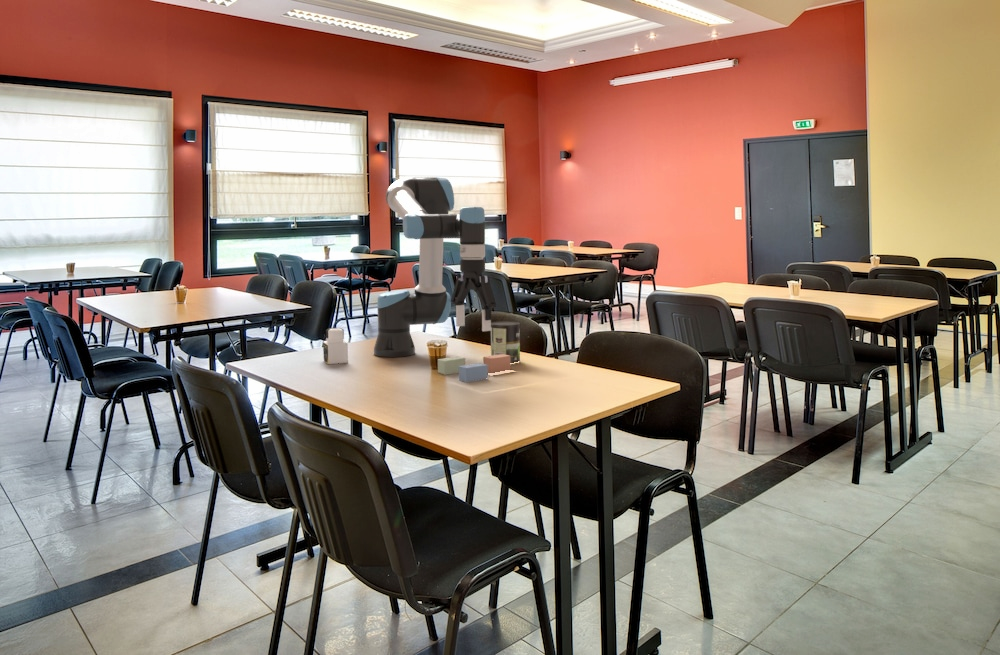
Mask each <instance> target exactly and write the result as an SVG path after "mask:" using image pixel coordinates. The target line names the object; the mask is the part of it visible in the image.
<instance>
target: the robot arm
mask: <svg viewBox="0 0 1000 655" xmlns="http://www.w3.org/2000/svg"><path fill="white" fill-rule="evenodd" d="M385 200H386V203H387V205H388V207H389V208H390V209H391V210H392V211H393V212H395V213H397V214H398V215H399V217H400V218H401V219H402V230H403V235H404V237H405V238H406V239H411V240H412V239H414V240H419V260H418V261H419V263H418V264H419V267H418V268H419V270H418V272H419V273H418V284H417V285H416V286H415V287H414V293H410V291H409V290H408V289H400V290H399V289H397V290H396V289H395V290H391V291H390V290H389V291H386V292H382V293H380V294H379V295H378V297H377V306H376V308H377V331H378V332H377V337H376V340H375V344H374V346H373V355H374V356H376V357H384V358H398V357H399V358H400V357H401V358H403V357H409V356H412V355H414V354H416V346H415V343H414V341H413V338H412V335H411V328H410V327H411V326H413V325H415V326H416V325H436V324H443V323H445V322H446V321H448V319H449V317H450V315H451V307H452V306H451V305H452V303H453V304H454V306H455V316H456V317H455V323H456V324H455V325H456V327H466V325H465V324H466V323H465V322H466V317H465V314H466V312H465V310H466V309H465V306H466V305H465V300H466V299H467V296H468V294H469V293H470V290H471V291H473V292H475V293H476V295H477V297H478V299H479V301H480V303H481V305H482V308H481V331H482V332H491V323H492V310H493V309H494V308H497V302H496V300H495V299H496V298H495V296H494V293H493V289H492V286H491V281H490V276H489V275H483V273H484V272H485V271H486V260H485V259H484V258H485V257H486V243H485V242H486V240H485V239H486V237H485V235H486V230H485V229H486V217H485V216H486V215H485V209H484V208H483V206H482V207H481V206H463V207H461V208H459V213H449V212H451V211H453V210H454V209H455V194H454V190H453V187H452V183H451V182H450V180H449V179H448V178H445V177H437V176H435V177H433V176H432V177H431V176H430V177H429V176H427V177H426V176H424V177H422V176H420V177H419V176H417V177H416V176H415V177H413V176H407V177H405V176H404V177H402V178H399V179H397V180H395V181H394V182H393V183H391V184H390V186H389V187H388V188H387V190H386V194H385ZM444 239H459V256H460V257H459V258H461V259H460V260H459V267H460V268H459V270H460V272H461V273H456V281H455V285H454V288H453V291H452V296H451V295H450V293H449V292H447V289H446V288H447V287H445V286H444V285H443V266H444V264H443V262H444Z"/></svg>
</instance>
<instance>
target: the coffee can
mask: <svg viewBox="0 0 1000 655" xmlns="http://www.w3.org/2000/svg"><path fill="white" fill-rule="evenodd" d="M520 327H521V323H520V322H518V321H502V320H501V321H491V331H490V356H493V355H500V354H505V355H509V356H510V363H514V362H518V361H520V362H521V353H520V352H521V338H520V337H521V334H520V333H521V328H520Z"/></svg>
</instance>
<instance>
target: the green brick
mask: <svg viewBox="0 0 1000 655" xmlns="http://www.w3.org/2000/svg"><path fill="white" fill-rule="evenodd" d="M464 365H466V358H465V357H462V356H453V357H446V358H445V357H444V358H439V359H437V373H438V374H441V375H452V374H457V373H458V374H459V366H464Z"/></svg>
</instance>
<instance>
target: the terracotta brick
mask: <svg viewBox="0 0 1000 655" xmlns="http://www.w3.org/2000/svg"><path fill="white" fill-rule="evenodd" d="M482 358H483V359H482V360H483V363H482V364H485V365H488V373H495V372H500V371H505V370H510V369H511V365H510V356H509V355H505V354H500V355H493V356H491V355H486V356H483V357H482Z"/></svg>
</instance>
